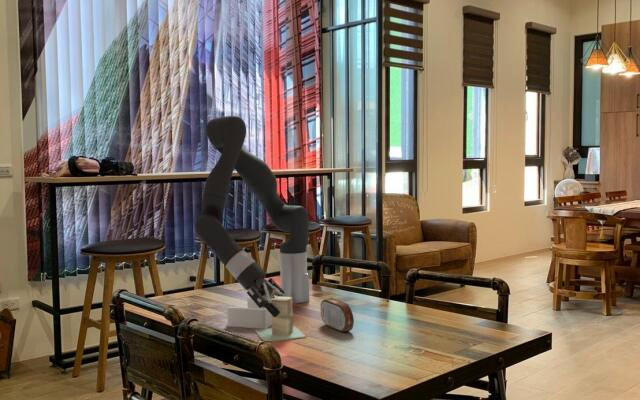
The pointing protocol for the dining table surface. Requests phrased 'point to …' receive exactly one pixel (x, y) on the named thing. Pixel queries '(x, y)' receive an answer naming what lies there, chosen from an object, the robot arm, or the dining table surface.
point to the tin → (337, 314)
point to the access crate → (249, 316)
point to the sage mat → (267, 335)
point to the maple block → (282, 316)
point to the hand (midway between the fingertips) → (283, 311)
